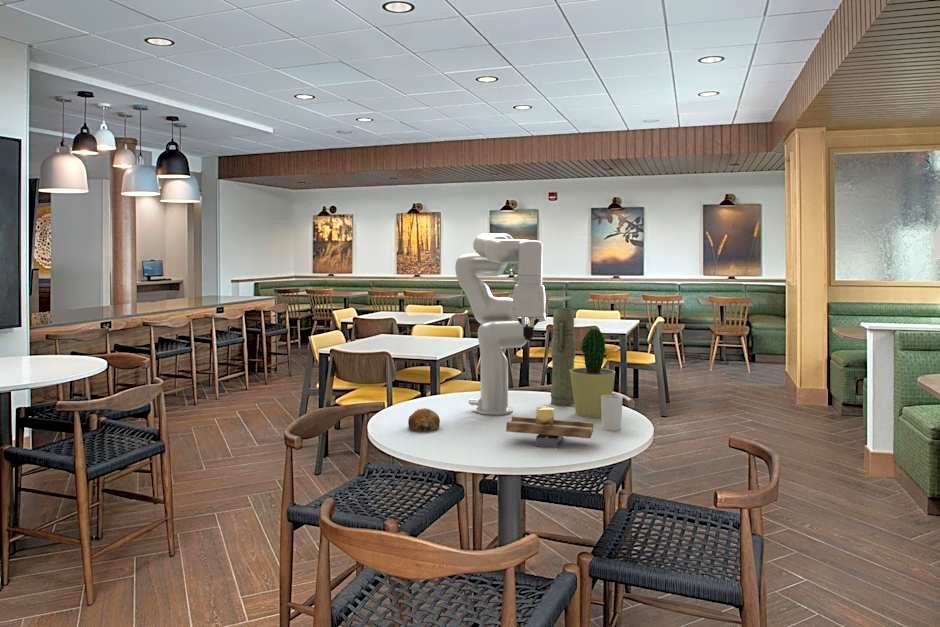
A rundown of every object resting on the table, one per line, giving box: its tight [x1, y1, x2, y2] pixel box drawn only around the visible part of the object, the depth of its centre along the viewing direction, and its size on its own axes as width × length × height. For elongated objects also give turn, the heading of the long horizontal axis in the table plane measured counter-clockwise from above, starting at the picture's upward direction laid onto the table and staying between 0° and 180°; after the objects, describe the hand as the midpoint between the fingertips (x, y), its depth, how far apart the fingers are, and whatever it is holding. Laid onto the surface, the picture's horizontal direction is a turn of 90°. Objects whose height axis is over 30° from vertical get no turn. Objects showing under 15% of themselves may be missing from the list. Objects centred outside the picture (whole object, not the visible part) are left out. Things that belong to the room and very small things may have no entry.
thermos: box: [550, 307, 577, 406], centre depth 260 cm, size 9×12×35 cm
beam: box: [505, 416, 595, 440], centre depth 205 cm, size 24×9×3 cm, turn 75°
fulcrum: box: [535, 434, 564, 449], centre depth 206 cm, size 6×12×3 cm, turn 165°
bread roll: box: [407, 407, 441, 433], centre depth 223 cm, size 10×10×8 cm
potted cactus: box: [570, 327, 616, 418], centre depth 243 cm, size 15×15×30 cm
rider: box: [535, 405, 555, 425], centre depth 205 cm, size 5×5×5 cm
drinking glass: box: [601, 394, 623, 431], centre depth 222 cm, size 7×7×10 cm
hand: (528, 339), depth 222 cm, fingers closed
